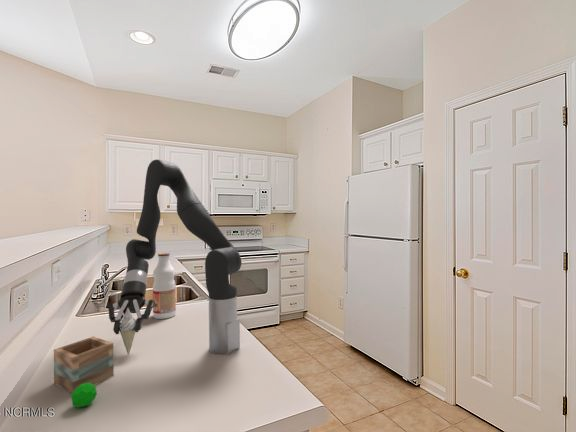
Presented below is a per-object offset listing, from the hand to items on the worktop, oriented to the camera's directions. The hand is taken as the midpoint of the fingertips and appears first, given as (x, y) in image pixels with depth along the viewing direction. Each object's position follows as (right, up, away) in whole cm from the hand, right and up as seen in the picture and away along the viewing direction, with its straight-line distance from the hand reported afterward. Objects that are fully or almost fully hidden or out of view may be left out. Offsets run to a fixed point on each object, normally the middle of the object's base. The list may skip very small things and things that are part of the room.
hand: (126, 332), depth 95 cm
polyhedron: (+3, -8, -25) cm, 26 cm away
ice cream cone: (0, -8, +2) cm, 8 cm away
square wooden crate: (-4, -8, -13) cm, 16 cm away
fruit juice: (-4, -8, +39) cm, 41 cm away
